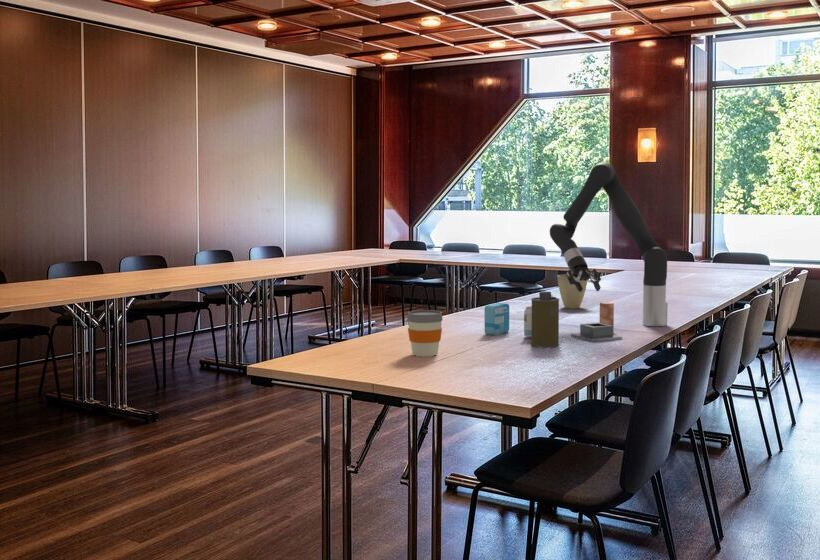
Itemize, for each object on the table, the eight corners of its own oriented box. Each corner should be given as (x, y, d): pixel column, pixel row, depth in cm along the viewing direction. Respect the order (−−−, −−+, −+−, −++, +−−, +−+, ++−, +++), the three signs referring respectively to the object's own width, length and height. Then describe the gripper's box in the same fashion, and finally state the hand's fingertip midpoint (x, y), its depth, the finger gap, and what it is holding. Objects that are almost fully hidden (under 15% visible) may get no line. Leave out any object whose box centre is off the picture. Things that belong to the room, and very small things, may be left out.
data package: (493, 336, 334) (493, 306, 333) (484, 335, 337) (484, 305, 336) (509, 332, 343) (509, 303, 342) (500, 331, 346) (500, 302, 345)
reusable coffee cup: (420, 349, 306) (420, 309, 304) (449, 353, 299) (449, 311, 297) (400, 355, 296) (399, 313, 294) (430, 359, 288) (429, 315, 287)
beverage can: (541, 339, 325) (541, 308, 324) (523, 338, 327) (523, 308, 325) (542, 336, 332) (542, 306, 331) (524, 336, 333) (524, 306, 332)
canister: (549, 348, 305) (549, 294, 304) (525, 345, 313) (525, 292, 311) (565, 344, 313) (565, 291, 311) (541, 341, 320) (542, 289, 318)
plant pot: (557, 309, 409) (557, 277, 407) (556, 305, 423) (556, 274, 422) (588, 309, 407) (589, 277, 405) (586, 305, 421) (586, 274, 420)
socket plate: (601, 333, 336) (601, 321, 336) (622, 339, 323) (622, 326, 323) (571, 336, 331) (571, 323, 331) (591, 341, 318) (591, 328, 318)
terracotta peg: (607, 331, 342) (608, 302, 341) (613, 332, 338) (613, 303, 337) (599, 332, 341) (599, 302, 340) (605, 333, 337) (605, 303, 336)
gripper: (564, 255, 353) (579, 285, 343) (593, 254, 358) (608, 284, 349) (557, 267, 358) (571, 296, 349) (585, 266, 364) (600, 295, 354)
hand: (590, 290), depth 349 cm, fingers open, 8 cm apart
